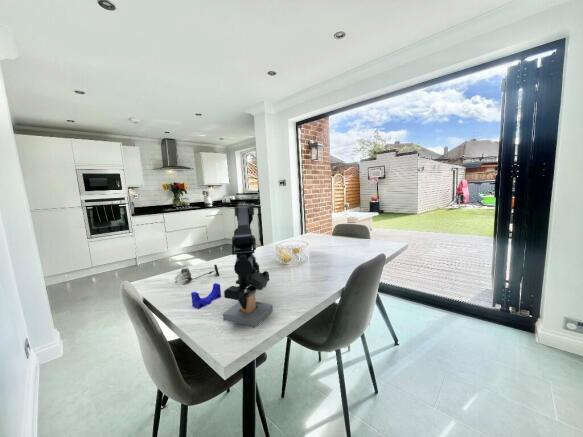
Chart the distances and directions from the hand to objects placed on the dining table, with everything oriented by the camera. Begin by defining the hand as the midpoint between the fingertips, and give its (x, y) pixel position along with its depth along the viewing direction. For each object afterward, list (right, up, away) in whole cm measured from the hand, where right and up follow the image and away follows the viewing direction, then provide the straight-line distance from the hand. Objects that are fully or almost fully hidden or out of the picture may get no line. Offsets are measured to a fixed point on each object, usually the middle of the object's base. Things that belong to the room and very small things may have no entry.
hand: (248, 306), depth 90 cm
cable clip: (-19, -3, +13) cm, 24 cm away
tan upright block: (0, -2, 0) cm, 2 cm away
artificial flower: (-34, -1, +40) cm, 52 cm away
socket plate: (0, -3, 0) cm, 4 cm away
